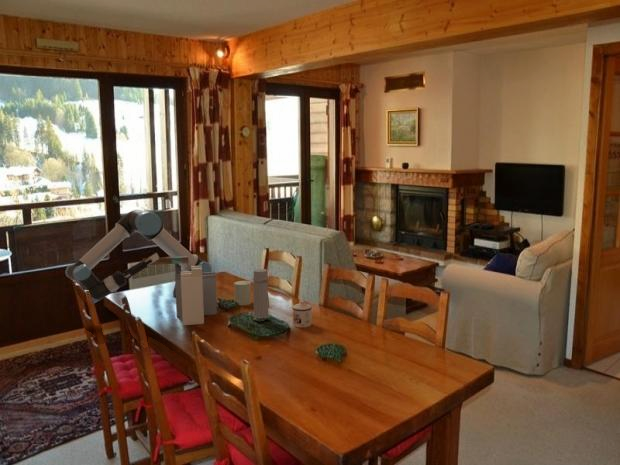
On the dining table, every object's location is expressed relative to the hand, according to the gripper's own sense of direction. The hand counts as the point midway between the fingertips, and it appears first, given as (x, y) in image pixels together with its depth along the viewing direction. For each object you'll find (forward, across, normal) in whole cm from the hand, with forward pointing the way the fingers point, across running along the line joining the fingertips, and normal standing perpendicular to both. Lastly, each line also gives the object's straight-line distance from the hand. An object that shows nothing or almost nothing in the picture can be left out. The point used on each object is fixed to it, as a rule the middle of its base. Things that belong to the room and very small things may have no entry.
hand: (157, 255), depth 266 cm
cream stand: (-2, +12, -35) cm, 37 cm away
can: (+21, -14, -49) cm, 55 cm away
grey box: (0, 0, -36) cm, 36 cm away
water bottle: (+27, +18, -52) cm, 61 cm away
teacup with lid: (+42, +32, -61) cm, 81 cm away
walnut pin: (+1, 0, -6) cm, 6 cm away
